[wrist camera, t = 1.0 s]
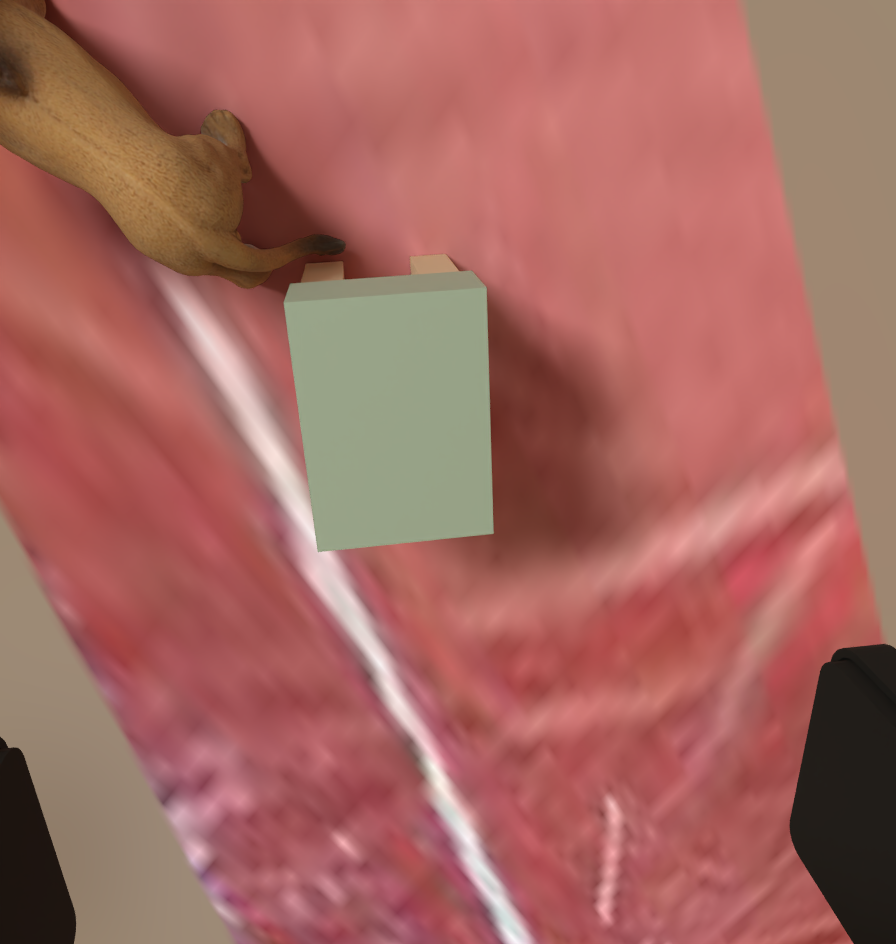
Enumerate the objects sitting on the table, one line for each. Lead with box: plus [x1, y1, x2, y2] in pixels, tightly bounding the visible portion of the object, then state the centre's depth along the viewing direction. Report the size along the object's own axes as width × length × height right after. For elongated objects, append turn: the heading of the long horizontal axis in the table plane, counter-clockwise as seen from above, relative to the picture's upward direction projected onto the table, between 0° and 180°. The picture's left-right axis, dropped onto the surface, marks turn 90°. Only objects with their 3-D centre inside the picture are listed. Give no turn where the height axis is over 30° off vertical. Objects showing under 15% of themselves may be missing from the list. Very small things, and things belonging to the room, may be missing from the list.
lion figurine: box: [0, 0, 346, 289], centre depth 19 cm, size 15×5×9 cm, turn 62°
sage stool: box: [284, 254, 494, 552], centre depth 24 cm, size 7×5×7 cm
